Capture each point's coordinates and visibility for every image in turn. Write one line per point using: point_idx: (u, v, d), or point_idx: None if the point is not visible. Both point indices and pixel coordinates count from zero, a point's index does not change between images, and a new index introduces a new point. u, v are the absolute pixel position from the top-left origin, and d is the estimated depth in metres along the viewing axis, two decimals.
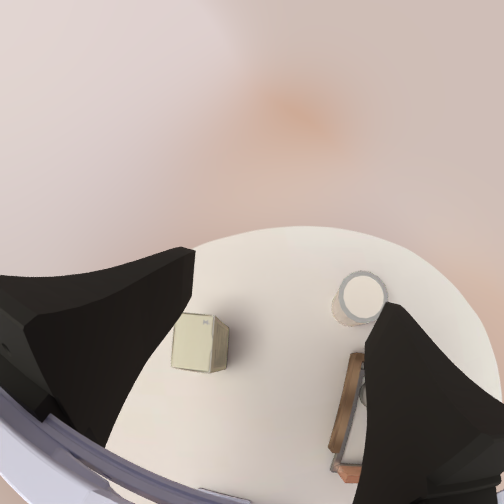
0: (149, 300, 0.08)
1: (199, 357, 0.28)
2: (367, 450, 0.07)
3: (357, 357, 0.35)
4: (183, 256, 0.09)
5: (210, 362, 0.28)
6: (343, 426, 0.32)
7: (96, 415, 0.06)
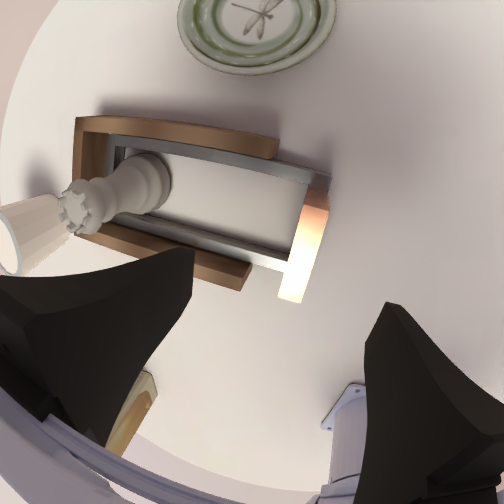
0: (149, 300, 0.08)
1: None
2: (367, 450, 0.07)
3: (78, 234, 0.20)
4: (183, 256, 0.09)
5: None
6: None
7: (96, 415, 0.06)
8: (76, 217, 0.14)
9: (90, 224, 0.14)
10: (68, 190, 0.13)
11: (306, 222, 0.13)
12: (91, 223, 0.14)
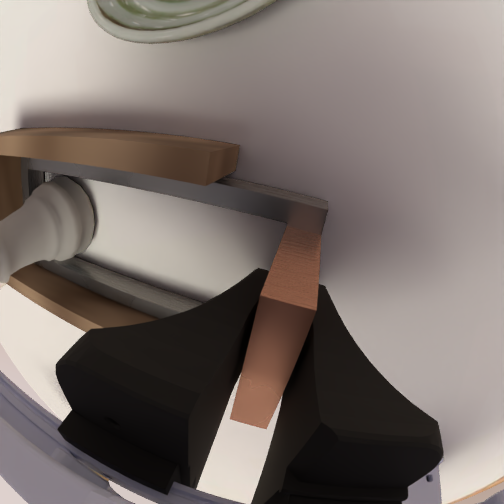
0: (247, 333, 0.07)
1: None
2: (274, 435, 0.07)
3: None
4: None
5: None
6: None
7: (201, 463, 0.05)
8: None
9: None
10: None
11: (267, 327, 0.06)
12: None
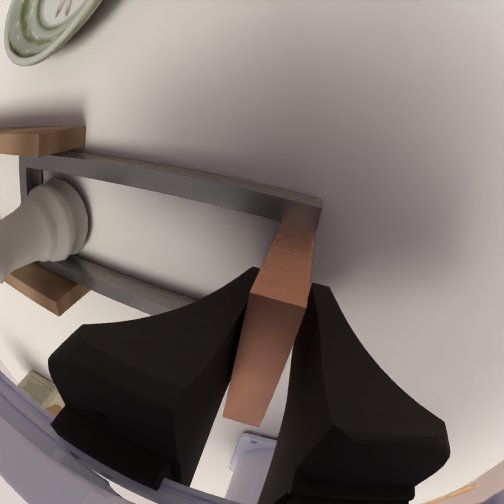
0: (241, 330, 0.08)
1: None
2: (279, 436, 0.07)
3: None
4: None
5: None
6: (17, 285, 0.13)
7: (193, 460, 0.05)
8: None
9: None
10: None
11: (257, 325, 0.06)
12: None
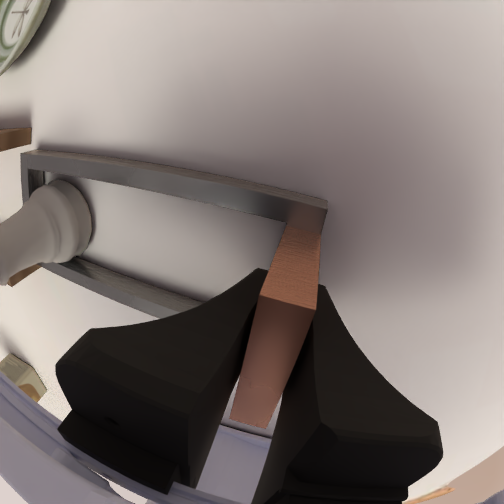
0: (247, 332, 0.07)
1: None
2: (274, 435, 0.07)
3: None
4: None
5: None
6: None
7: (201, 463, 0.05)
8: None
9: None
10: None
11: (266, 327, 0.06)
12: None
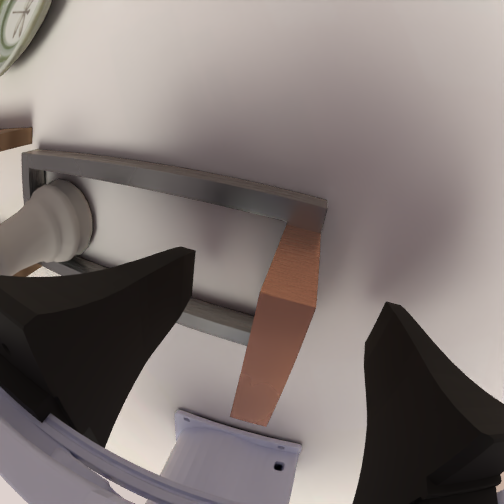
0: (149, 300, 0.08)
1: None
2: (367, 450, 0.07)
3: None
4: (183, 256, 0.09)
5: None
6: None
7: (96, 415, 0.06)
8: None
9: None
10: None
11: (267, 324, 0.06)
12: None
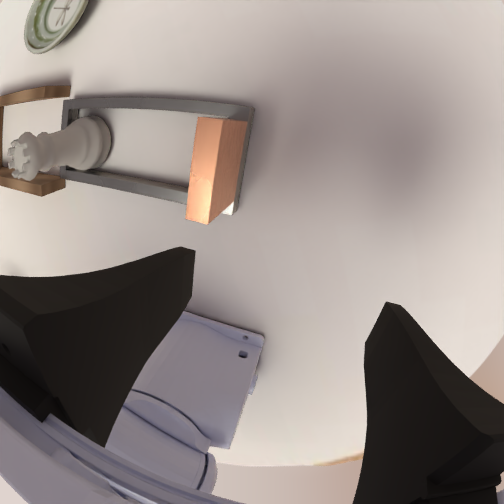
0: (149, 300, 0.08)
1: None
2: (367, 450, 0.07)
3: None
4: (183, 256, 0.09)
5: None
6: (19, 185, 0.20)
7: (96, 415, 0.06)
8: (20, 164, 0.13)
9: (29, 169, 0.13)
10: (15, 140, 0.12)
11: (202, 134, 0.12)
12: (29, 169, 0.13)
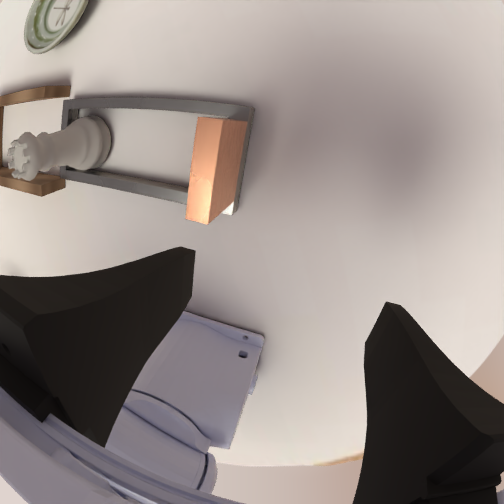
0: (149, 300, 0.08)
1: None
2: (367, 450, 0.07)
3: None
4: (183, 256, 0.09)
5: None
6: (19, 185, 0.20)
7: (96, 415, 0.06)
8: (20, 164, 0.13)
9: (28, 169, 0.13)
10: (15, 141, 0.12)
11: (202, 134, 0.12)
12: (29, 169, 0.13)
